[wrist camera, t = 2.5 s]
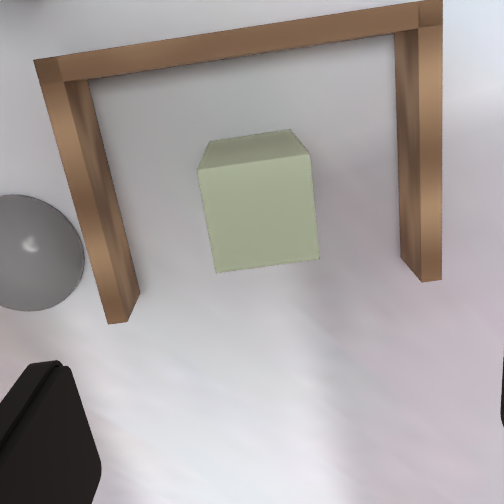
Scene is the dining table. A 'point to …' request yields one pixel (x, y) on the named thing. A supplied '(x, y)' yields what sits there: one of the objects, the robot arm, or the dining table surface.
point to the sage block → (258, 201)
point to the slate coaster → (36, 254)
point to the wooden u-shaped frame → (237, 45)
